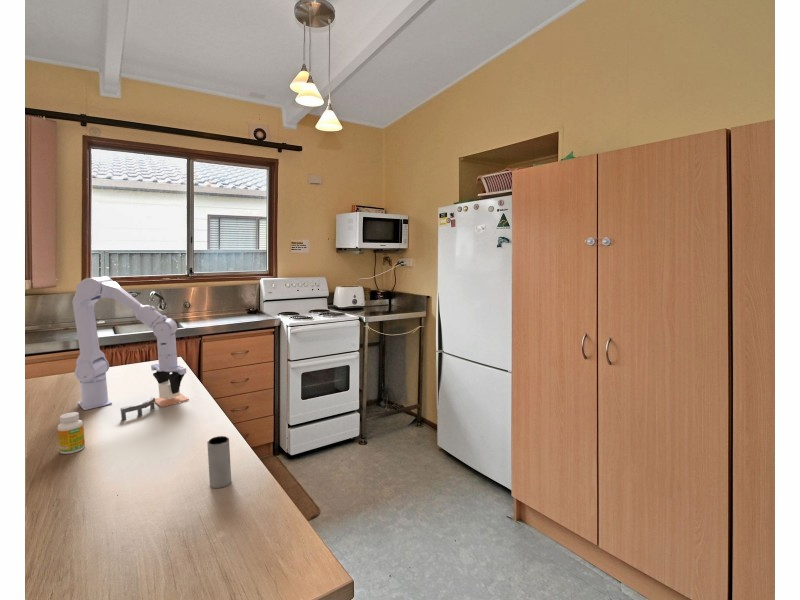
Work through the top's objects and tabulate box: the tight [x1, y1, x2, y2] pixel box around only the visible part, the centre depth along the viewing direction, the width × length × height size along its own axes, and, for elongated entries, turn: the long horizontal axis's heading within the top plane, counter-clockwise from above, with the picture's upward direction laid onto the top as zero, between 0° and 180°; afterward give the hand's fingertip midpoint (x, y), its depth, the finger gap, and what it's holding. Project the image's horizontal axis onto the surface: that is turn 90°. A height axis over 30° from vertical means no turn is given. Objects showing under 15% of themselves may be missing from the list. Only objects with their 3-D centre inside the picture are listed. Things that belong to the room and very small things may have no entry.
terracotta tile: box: [154, 393, 190, 408], centre depth 149 cm, size 9×9×1 cm
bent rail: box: [119, 397, 156, 421], centre depth 137 cm, size 5×10×4 cm, turn 137°
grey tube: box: [207, 435, 232, 489], centre depth 96 cm, size 4×4×10 cm
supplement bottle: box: [57, 411, 86, 455], centre depth 113 cm, size 5×5×10 cm
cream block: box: [158, 381, 181, 399], centre depth 148 cm, size 4×4×5 cm
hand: (170, 391), depth 149 cm, fingers closed on cream block, 4 cm apart
